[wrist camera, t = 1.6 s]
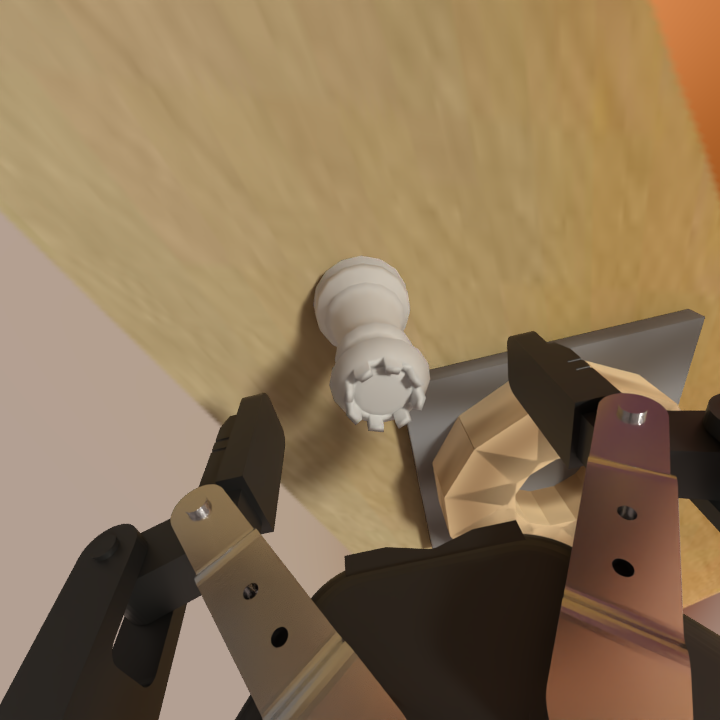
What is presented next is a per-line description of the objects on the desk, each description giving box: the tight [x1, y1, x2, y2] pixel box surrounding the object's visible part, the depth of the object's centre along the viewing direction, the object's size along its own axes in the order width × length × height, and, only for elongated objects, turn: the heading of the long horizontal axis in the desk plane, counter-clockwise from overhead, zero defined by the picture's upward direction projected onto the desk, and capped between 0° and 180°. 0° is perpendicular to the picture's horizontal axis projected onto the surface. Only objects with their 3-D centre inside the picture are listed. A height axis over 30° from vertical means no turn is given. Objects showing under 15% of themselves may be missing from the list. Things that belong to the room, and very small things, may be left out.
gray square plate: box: [407, 309, 705, 548], centre depth 23 cm, size 16×16×4 cm
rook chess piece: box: [313, 256, 430, 432], centre depth 15 cm, size 4×4×8 cm
